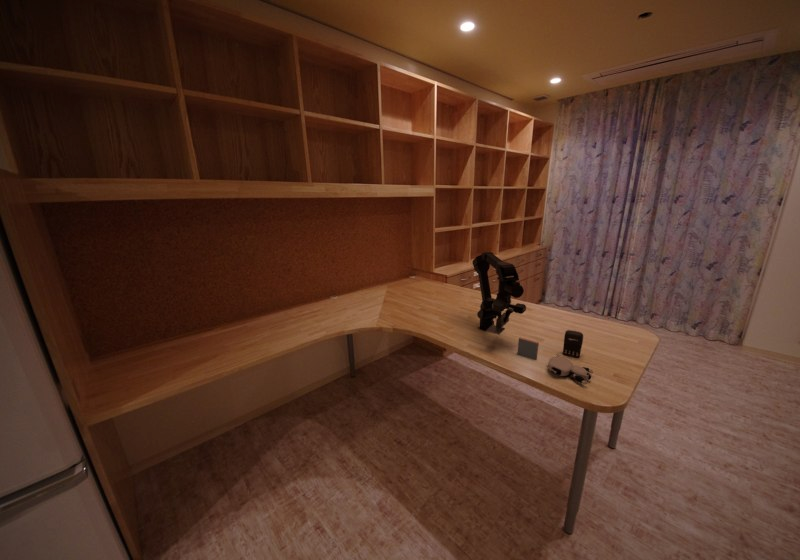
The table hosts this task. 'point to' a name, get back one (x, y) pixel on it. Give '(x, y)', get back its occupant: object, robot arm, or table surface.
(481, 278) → the robot arm
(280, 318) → the table surface
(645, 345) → the table surface
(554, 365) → the robot toy
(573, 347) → the battery charger
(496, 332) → the turner
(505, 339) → the table surface
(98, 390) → the table surface
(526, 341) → the tile
